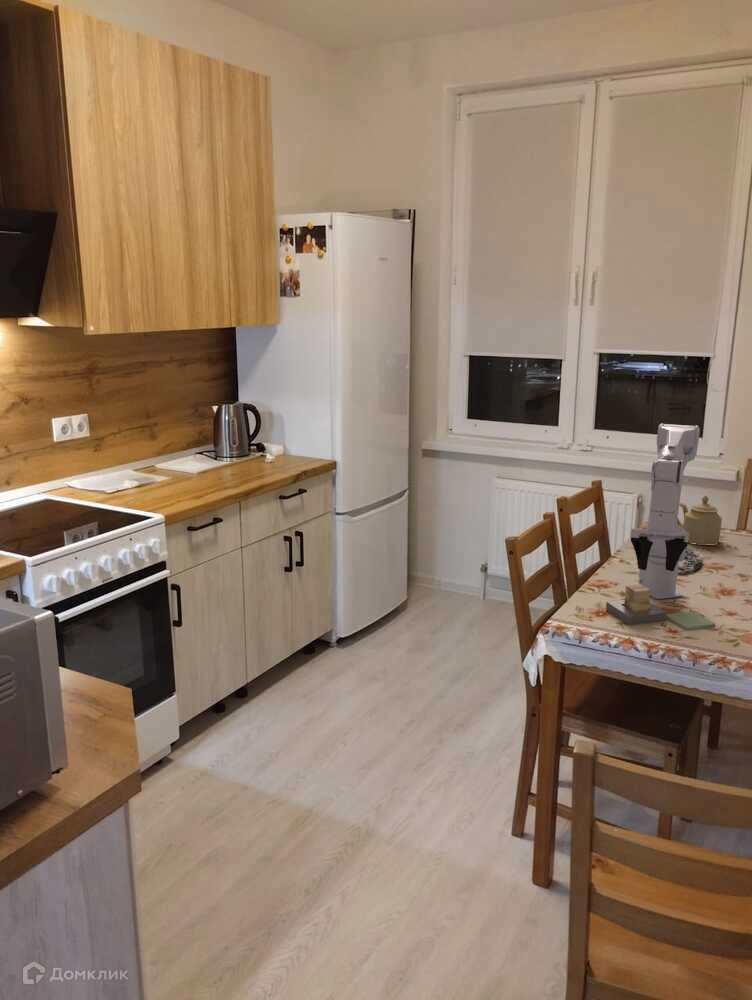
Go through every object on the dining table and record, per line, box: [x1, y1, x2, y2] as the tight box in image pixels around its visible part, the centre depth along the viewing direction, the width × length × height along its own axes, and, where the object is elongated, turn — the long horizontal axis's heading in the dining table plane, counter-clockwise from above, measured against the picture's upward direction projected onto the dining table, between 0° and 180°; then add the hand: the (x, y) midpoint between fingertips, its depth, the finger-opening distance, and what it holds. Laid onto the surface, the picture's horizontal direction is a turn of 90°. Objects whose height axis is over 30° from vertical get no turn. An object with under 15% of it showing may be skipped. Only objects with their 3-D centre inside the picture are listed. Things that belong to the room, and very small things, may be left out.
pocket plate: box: [605, 599, 668, 626], centre depth 188 cm, size 10×10×2 cm
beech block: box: [624, 583, 651, 612], centre depth 187 cm, size 4×4×7 cm
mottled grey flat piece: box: [677, 547, 704, 576], centre depth 228 cm, size 28×2×10 cm
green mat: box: [666, 610, 716, 631], centre depth 184 cm, size 8×8×1 cm
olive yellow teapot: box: [677, 494, 723, 544], centre depth 247 cm, size 15×11×15 cm
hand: (655, 570), depth 180 cm, fingers open, 7 cm apart
